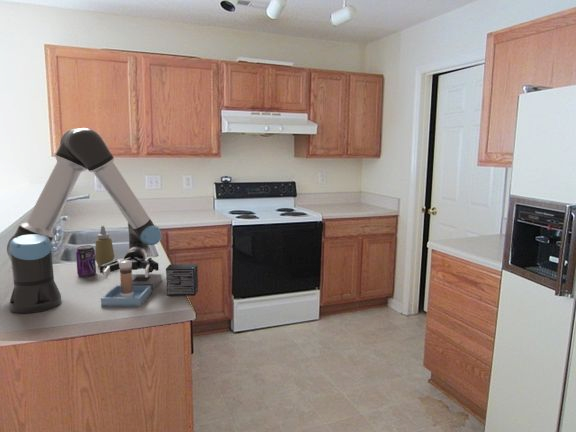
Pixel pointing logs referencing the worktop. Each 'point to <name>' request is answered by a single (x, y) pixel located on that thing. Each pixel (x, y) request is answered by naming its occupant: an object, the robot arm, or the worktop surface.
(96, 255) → the squeeze bottle
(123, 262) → the brown and white cylinder
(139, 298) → the parts tray
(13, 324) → the worktop surface
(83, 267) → the beverage can
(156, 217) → the worktop surface
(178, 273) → the small box
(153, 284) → the holder
